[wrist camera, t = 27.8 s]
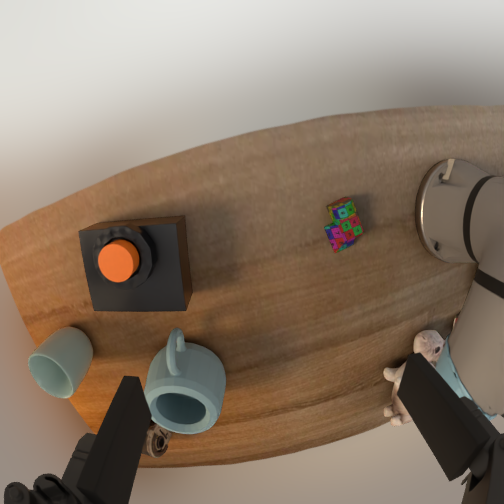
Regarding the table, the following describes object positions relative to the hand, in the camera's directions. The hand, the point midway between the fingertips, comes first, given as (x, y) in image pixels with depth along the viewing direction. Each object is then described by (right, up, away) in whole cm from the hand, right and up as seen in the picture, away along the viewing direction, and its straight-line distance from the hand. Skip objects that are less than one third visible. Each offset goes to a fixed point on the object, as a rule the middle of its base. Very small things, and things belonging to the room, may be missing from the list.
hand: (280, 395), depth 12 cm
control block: (-15, +6, +23) cm, 28 cm away
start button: (-15, +6, +16) cm, 23 cm away
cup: (-29, -7, +26) cm, 40 cm away
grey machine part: (-22, -24, +32) cm, 45 cm away
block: (+10, +10, +24) cm, 27 cm away
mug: (-11, -8, +28) cm, 31 cm away
